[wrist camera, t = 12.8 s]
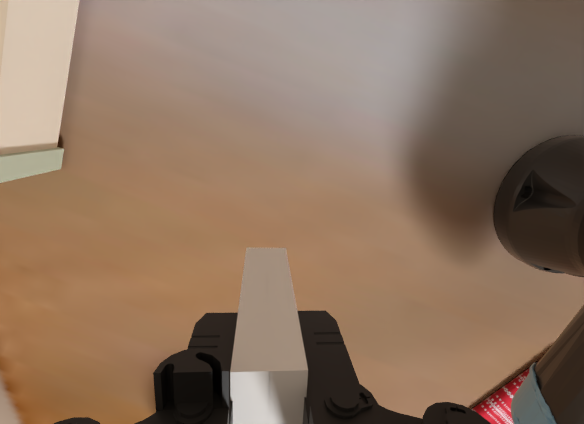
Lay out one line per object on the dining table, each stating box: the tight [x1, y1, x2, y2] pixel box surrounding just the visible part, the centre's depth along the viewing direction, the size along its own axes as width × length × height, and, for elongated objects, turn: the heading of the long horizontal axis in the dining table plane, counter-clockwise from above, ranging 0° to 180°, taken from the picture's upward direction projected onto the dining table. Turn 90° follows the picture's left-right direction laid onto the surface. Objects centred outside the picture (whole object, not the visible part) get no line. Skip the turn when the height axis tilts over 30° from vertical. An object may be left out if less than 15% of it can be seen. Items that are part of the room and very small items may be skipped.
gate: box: [0, 0, 79, 183], centre depth 23 cm, size 25×3×12 cm, turn 162°
